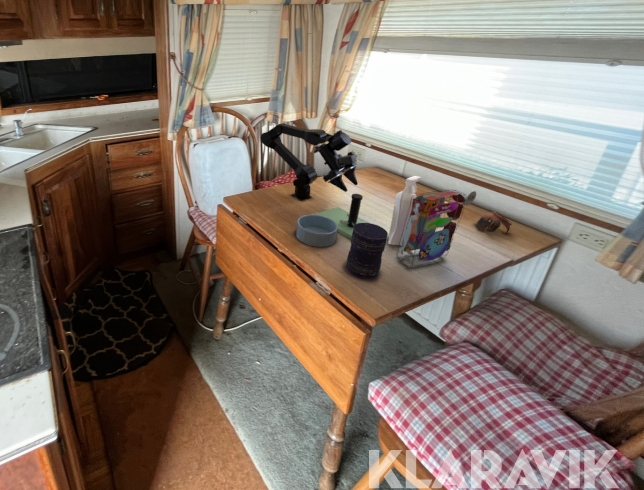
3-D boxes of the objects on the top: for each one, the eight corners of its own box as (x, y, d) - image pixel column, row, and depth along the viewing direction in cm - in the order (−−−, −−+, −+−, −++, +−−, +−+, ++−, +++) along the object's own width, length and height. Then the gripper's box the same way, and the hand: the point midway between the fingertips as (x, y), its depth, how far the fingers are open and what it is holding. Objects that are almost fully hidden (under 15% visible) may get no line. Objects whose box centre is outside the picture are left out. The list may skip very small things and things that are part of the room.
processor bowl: (288, 232, 138) (289, 220, 135) (315, 223, 144) (316, 211, 142) (315, 251, 126) (317, 238, 124) (343, 240, 132) (346, 227, 130)
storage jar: (355, 257, 123) (365, 211, 116) (384, 271, 115) (396, 223, 108) (339, 268, 117) (348, 220, 110) (368, 284, 110) (380, 234, 103)
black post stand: (337, 227, 138) (342, 197, 133) (342, 218, 144) (347, 189, 139) (361, 234, 133) (368, 203, 128) (365, 224, 140) (372, 194, 135)
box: (449, 246, 128) (469, 184, 119) (466, 255, 123) (488, 191, 113) (394, 259, 121) (411, 194, 112) (409, 270, 116) (428, 203, 106)
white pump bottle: (378, 243, 130) (392, 180, 121) (394, 232, 137) (409, 172, 127) (396, 251, 125) (413, 187, 116) (413, 240, 132) (430, 178, 122)
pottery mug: (473, 221, 145) (490, 207, 141) (495, 238, 141) (514, 224, 137) (473, 227, 135) (492, 211, 132) (498, 245, 131) (518, 229, 128)
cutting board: (313, 217, 148) (313, 214, 148) (336, 209, 154) (337, 206, 154) (353, 240, 132) (354, 237, 131) (378, 231, 138) (378, 227, 137)
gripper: (334, 151, 138) (357, 186, 135) (356, 141, 150) (378, 173, 147) (313, 165, 146) (335, 198, 143) (335, 154, 158) (355, 184, 155)
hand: (351, 188), depth 147 cm, fingers open, 9 cm apart
